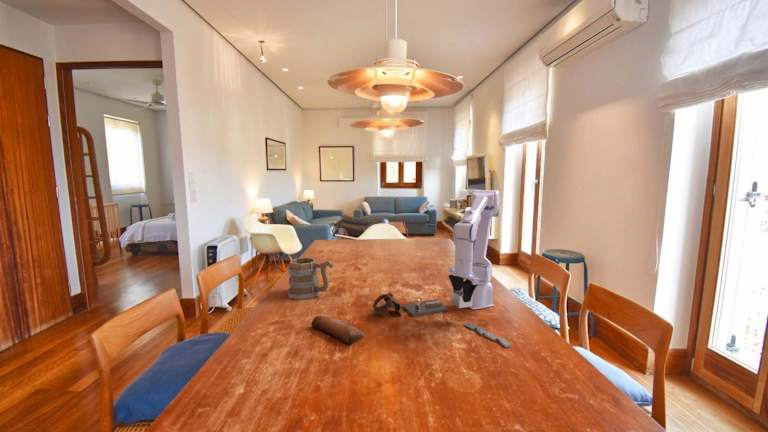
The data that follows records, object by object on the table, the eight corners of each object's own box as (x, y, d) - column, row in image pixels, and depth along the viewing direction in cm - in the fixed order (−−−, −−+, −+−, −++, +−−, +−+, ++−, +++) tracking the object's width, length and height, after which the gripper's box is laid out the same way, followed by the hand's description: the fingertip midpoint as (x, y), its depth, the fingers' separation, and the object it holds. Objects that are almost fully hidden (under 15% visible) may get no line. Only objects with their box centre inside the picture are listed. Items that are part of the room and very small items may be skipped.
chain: (469, 323, 109) (469, 321, 109) (513, 345, 95) (514, 342, 95) (462, 326, 107) (462, 323, 107) (506, 348, 94) (506, 346, 93)
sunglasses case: (369, 335, 101) (361, 321, 97) (355, 354, 97) (346, 340, 93) (331, 318, 112) (323, 305, 109) (317, 334, 108) (308, 321, 105)
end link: (463, 300, 113) (463, 289, 113) (472, 306, 109) (472, 294, 108) (451, 302, 112) (451, 291, 111) (459, 308, 107) (459, 296, 106)
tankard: (281, 296, 132) (280, 260, 130) (300, 286, 143) (299, 253, 141) (324, 304, 124) (323, 265, 122) (340, 293, 136) (340, 257, 134)
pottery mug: (404, 321, 111) (393, 303, 109) (379, 331, 113) (368, 313, 111) (404, 300, 122) (394, 283, 120) (381, 308, 124) (371, 292, 122)
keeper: (435, 301, 127) (435, 292, 127) (447, 311, 119) (448, 300, 118) (402, 306, 122) (402, 296, 122) (412, 316, 114) (413, 305, 113)
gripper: (441, 254, 113) (440, 292, 115) (466, 266, 100) (464, 308, 102) (459, 253, 116) (457, 290, 118) (485, 263, 102) (483, 305, 104)
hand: (462, 298), depth 110 cm, fingers closed on end link, 5 cm apart
